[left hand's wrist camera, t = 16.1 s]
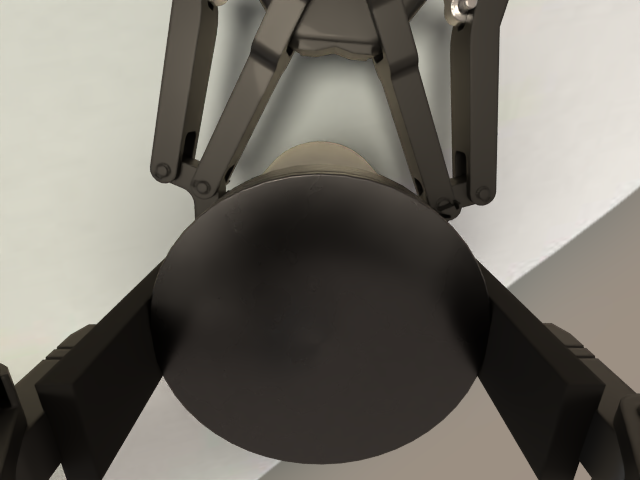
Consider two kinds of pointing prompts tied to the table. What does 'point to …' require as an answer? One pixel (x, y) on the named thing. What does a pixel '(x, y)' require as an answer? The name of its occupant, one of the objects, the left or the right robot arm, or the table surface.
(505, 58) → the table surface
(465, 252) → the lid
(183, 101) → the right robot arm
